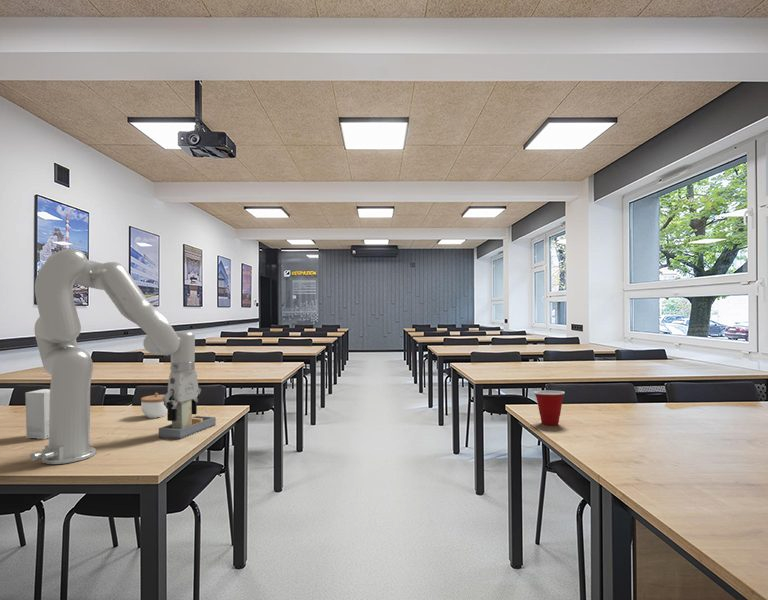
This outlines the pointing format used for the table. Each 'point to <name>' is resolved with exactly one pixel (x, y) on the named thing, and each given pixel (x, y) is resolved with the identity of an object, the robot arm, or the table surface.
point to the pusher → (196, 420)
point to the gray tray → (187, 428)
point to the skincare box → (37, 414)
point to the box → (183, 415)
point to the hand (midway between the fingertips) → (182, 417)
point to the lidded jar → (153, 406)
